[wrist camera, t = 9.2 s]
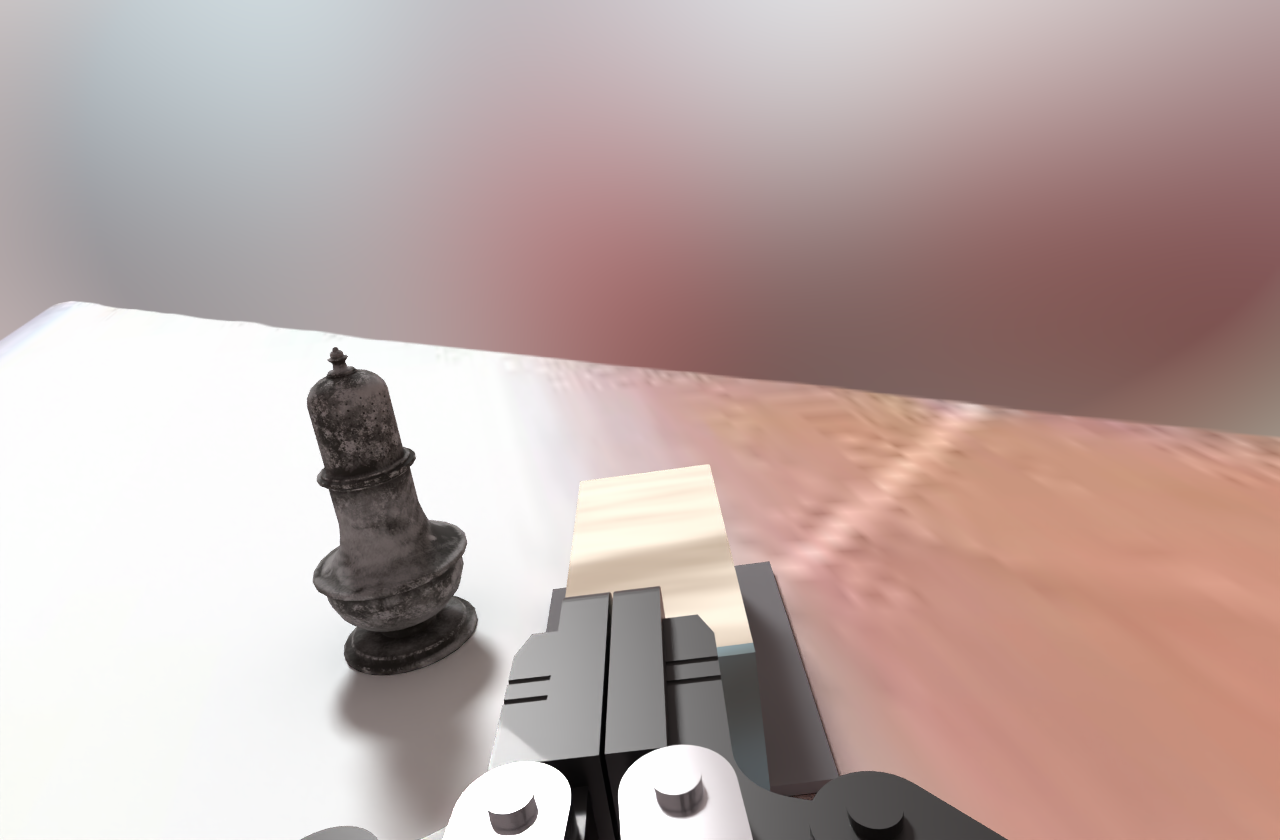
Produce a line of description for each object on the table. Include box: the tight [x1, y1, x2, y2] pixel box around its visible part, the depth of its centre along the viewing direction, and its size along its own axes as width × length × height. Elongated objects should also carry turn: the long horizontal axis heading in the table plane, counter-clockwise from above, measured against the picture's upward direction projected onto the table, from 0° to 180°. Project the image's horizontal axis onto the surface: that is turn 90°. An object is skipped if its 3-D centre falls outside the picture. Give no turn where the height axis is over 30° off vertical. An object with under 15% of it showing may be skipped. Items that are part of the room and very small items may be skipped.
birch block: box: [565, 464, 770, 791], centre depth 27 cm, size 5×5×12 cm
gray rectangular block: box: [546, 562, 839, 796], centre depth 29 cm, size 12×9×1 cm
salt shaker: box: [307, 347, 477, 675], centre depth 32 cm, size 6×6×12 cm
